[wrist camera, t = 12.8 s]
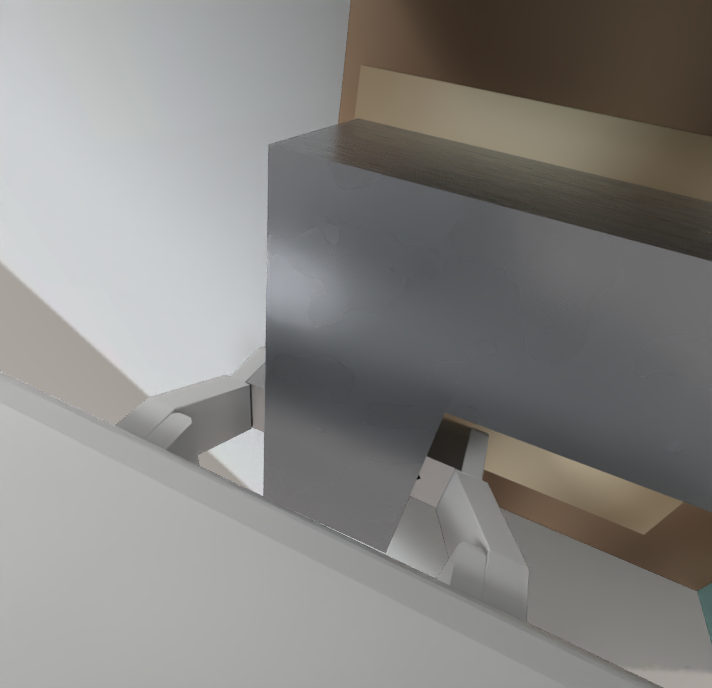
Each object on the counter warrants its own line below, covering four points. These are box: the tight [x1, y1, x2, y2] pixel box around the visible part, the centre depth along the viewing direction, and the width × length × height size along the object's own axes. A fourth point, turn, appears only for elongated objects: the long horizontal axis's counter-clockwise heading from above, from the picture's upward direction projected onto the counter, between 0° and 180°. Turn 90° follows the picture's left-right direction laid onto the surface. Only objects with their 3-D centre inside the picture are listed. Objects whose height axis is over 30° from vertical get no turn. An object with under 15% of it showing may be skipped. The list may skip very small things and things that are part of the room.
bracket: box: [263, 118, 712, 553], centre depth 10 cm, size 10×12×4 cm
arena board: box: [338, 0, 712, 591], centre depth 12 cm, size 18×18×1 cm
